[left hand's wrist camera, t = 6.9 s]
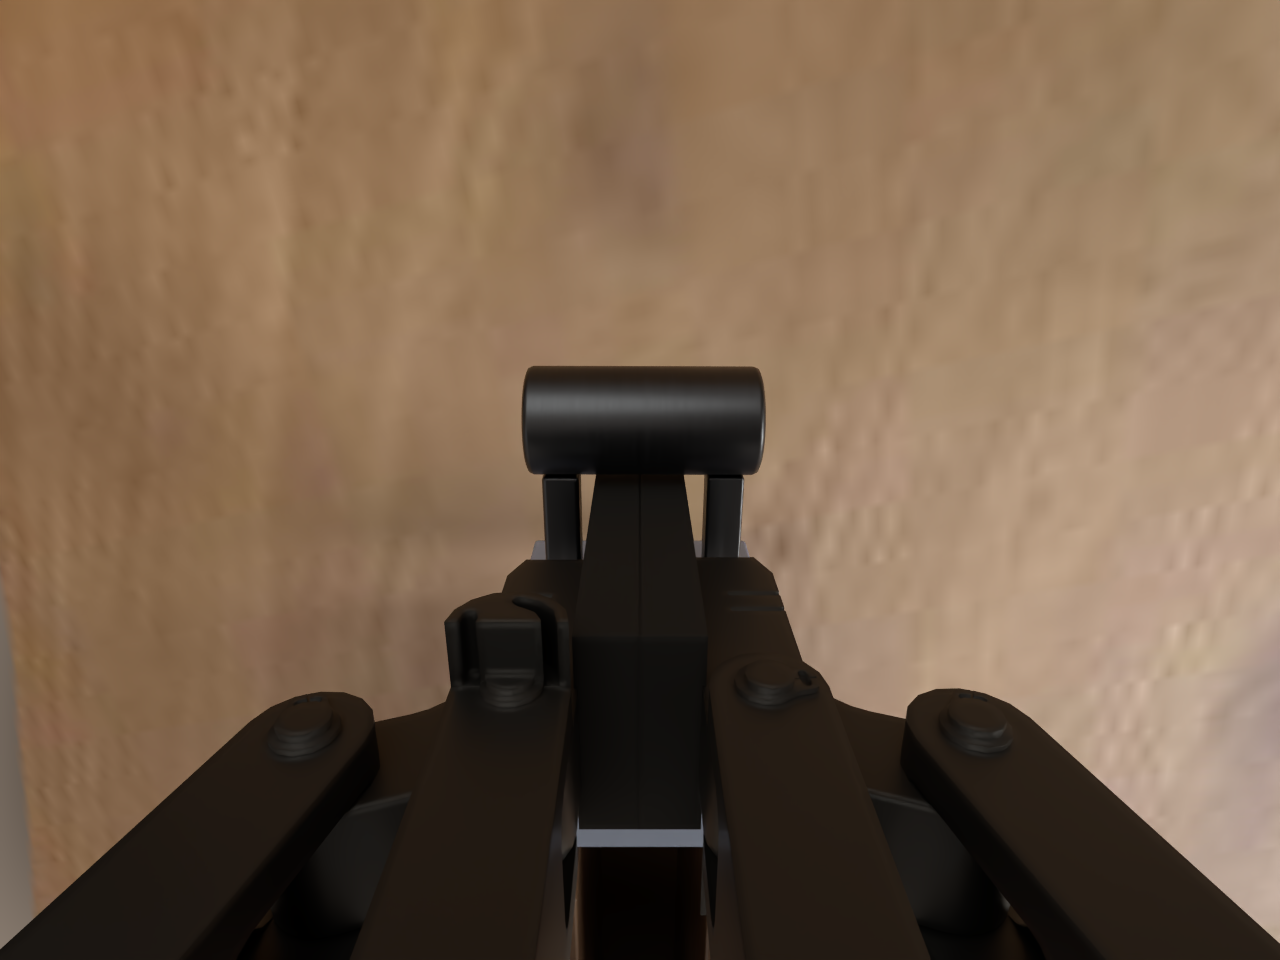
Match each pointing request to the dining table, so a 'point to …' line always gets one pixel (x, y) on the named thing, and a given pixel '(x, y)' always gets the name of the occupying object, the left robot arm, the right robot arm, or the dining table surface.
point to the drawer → (722, 451)
